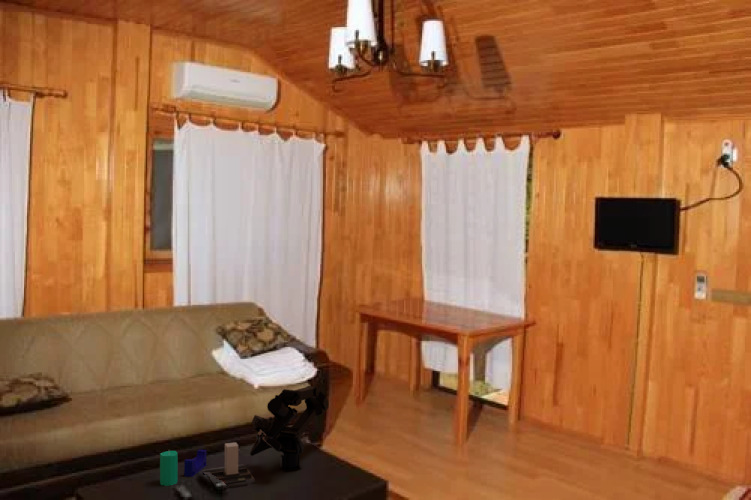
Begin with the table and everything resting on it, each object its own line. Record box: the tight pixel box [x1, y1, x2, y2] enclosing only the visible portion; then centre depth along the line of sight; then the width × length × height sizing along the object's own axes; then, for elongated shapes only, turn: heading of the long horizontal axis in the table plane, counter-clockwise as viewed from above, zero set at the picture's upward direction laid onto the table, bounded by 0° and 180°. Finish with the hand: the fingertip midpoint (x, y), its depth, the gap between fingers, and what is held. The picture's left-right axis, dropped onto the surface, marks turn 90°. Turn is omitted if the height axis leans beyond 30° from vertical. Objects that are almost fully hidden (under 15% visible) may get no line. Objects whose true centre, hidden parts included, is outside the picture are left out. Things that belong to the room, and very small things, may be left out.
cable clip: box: [183, 449, 207, 478], centre depth 249 cm, size 12×4×6 cm, turn 170°
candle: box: [159, 450, 179, 487], centre depth 237 cm, size 6×6×12 cm
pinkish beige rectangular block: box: [223, 442, 240, 477], centre depth 241 cm, size 5×4×11 cm
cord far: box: [201, 463, 249, 473], centre depth 249 cm, size 17×3×1 cm, turn 114°
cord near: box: [228, 482, 249, 488], centre depth 235 cm, size 7×1×1 cm, turn 114°
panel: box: [210, 467, 255, 487], centre depth 241 cm, size 14×12×2 cm
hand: (250, 454), depth 244 cm, fingers closed
